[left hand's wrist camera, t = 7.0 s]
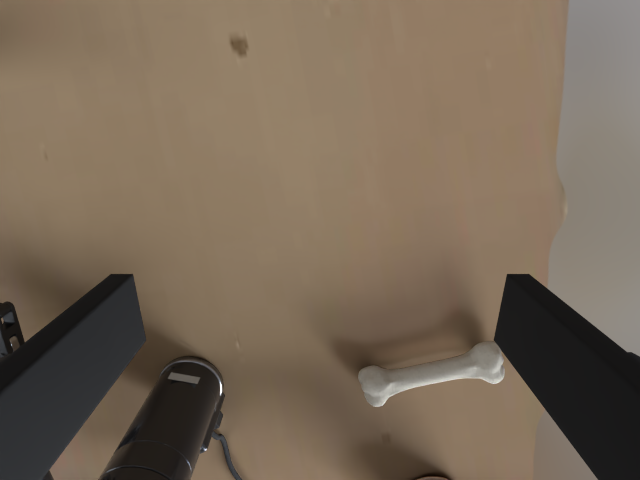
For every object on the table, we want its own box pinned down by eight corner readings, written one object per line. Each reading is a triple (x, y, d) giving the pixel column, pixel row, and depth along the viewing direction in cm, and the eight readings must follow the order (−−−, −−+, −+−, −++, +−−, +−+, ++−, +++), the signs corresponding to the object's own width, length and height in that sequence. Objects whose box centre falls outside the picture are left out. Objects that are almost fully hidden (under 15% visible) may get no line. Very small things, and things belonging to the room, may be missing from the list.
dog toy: (363, 392, 55) (368, 418, 50) (354, 361, 53) (358, 385, 48) (496, 364, 53) (513, 389, 48) (492, 330, 51) (509, 353, 46)
